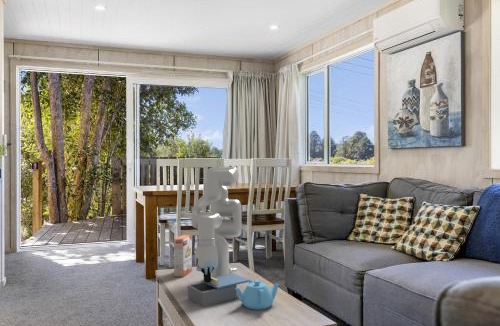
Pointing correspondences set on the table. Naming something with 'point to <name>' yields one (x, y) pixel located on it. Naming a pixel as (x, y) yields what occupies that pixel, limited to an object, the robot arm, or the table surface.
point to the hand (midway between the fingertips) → (207, 282)
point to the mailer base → (210, 294)
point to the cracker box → (182, 255)
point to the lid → (226, 281)
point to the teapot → (257, 295)
